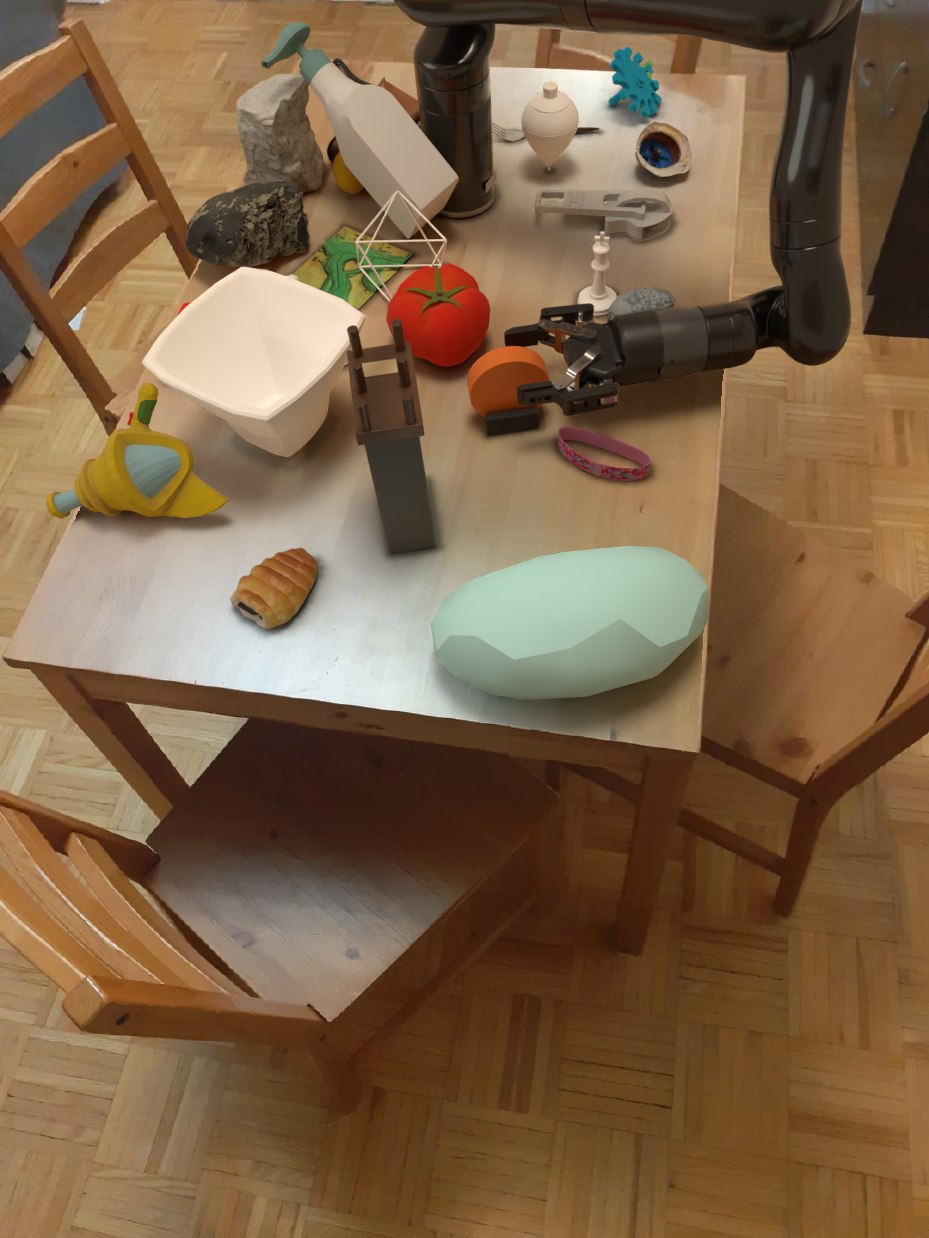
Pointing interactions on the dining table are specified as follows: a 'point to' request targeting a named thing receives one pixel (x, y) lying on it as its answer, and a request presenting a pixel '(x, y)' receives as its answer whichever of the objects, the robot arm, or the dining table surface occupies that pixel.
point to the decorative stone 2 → (572, 622)
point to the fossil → (640, 301)
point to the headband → (609, 445)
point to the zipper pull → (615, 209)
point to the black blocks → (512, 421)
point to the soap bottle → (373, 136)
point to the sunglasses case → (402, 97)
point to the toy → (140, 474)
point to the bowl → (258, 355)
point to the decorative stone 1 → (279, 133)
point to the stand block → (402, 493)
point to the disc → (504, 378)
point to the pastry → (276, 587)
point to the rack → (384, 389)
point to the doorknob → (345, 176)
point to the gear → (635, 82)
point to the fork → (518, 135)
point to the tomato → (441, 314)
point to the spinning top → (549, 123)
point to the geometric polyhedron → (397, 241)
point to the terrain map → (350, 266)
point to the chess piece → (599, 280)
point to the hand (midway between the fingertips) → (511, 367)
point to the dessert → (663, 150)
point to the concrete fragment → (249, 225)
